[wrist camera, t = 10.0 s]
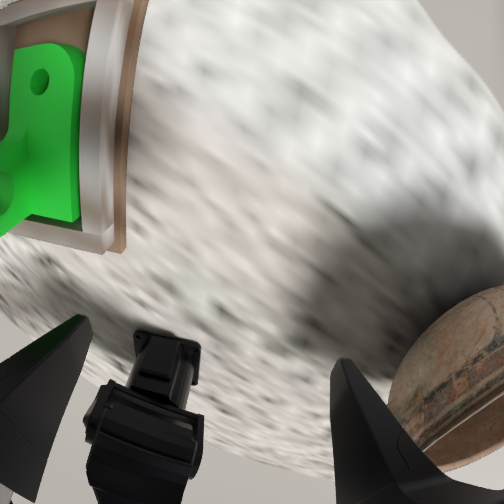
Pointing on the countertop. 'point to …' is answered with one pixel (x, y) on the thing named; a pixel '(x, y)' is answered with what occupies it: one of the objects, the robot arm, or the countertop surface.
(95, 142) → the keyed nest
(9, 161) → the mechanical part
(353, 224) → the countertop surface
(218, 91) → the countertop surface
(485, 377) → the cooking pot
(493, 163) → the countertop surface
